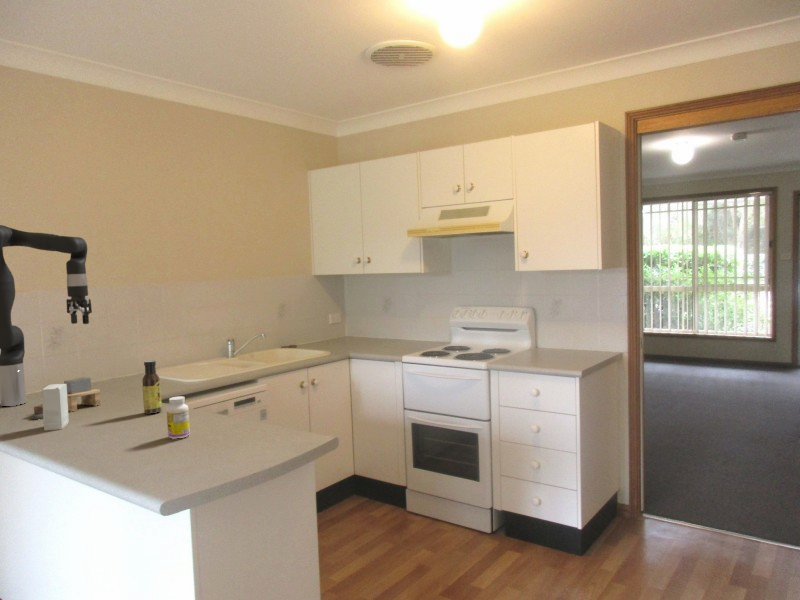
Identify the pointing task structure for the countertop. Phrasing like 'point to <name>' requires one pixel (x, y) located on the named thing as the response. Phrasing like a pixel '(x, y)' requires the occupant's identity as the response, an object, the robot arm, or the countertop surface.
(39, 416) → the rubber puck
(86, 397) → the stand
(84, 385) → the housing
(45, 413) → the skincare box
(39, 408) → the walnut block
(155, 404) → the sauce bottle
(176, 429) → the supplement bottle
